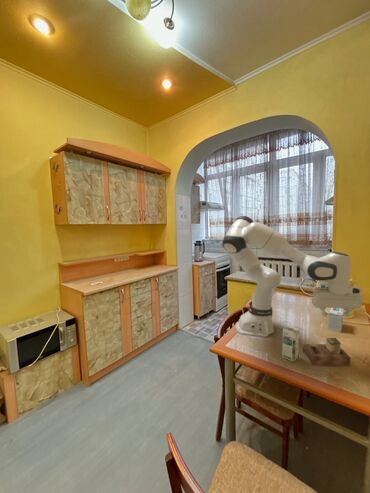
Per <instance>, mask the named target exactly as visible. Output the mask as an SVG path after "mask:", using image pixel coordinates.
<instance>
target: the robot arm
mask: <svg viewBox="0 0 370 493" xmlns="http://www.w3.org/2000/svg"><path fill="white" fill-rule="evenodd" d="M221 244H222V247H223V249H224V250H225V251H227V252H228V253H229V255H230V256H231V258H233V260H234V261H235V262H236V263H237V264H238V265H239V266H240V267H241V269H242V270H243V271H244V272H245V275H246V277H247V278H248V279H249V280H250V281H252V282H254V283H256V289H255V290H254V291H253V292H252V295H251V305H250V304H248V303H247V304H246V307H247V309H248V311H246V312H245V313H243V314H241V315H240V316H239V321H237V322H236V323H235V329H236V332H237V333H238V334H240V335H247V336H256V337H257V336H258V337H264V338H266V337H267V338H268V336H269V335H271V334H273V333H274V332H275V329H274V328H275V327H274V323H273V313H274V311H273V306H272V305H273V303H272V302H273V300H272V299H273V292H274V290H275V289H276V288H278V287H279V285H280V284H281V282H282V277H281V275H280V273H279V272H278V271H276V270H275V269H273V268H271V267H267V266H265V265H264V264H262V263H261V261H260V260H259V256H258V255H257V254H256V252H255V251H254V250H253V249H252V248H251V247H250V245H249V244H251V245H254V246H255V247H257V248H259V249H260V250H261V251H263V252H266V253H267V254H270V255H272V256H282V257H285V258H286V259H287V260H290V261H291V262H293V263H294V264H297V265H298V267H299V269H300V270H301V271H302V272H303V273H304V274H306V275H307V276H308V277H309V278H311V279H312V280H314V281H319V282H320V281H322V282H323V281H325V282H326V284H325V287H324V286H323V287H321V286H320V287H319V286H317V287H315V288H314V289H313V290H312V300H311V304H312V305H313V306H314V307H315V308H319V309H320V311H321V315H322V317H328V315H329V312H327V311H325V310H326V309H328V308H329V309H331V308H342V309H346V310H345V311H344V312H343V317H345V318H350V314H351V313H352V312H353V309H360V308H362V306H363V295H362V292H363V290H362V289H361V288H360V287H358V286H356V285H353V284H351V280H350V277H351V274H352V258H351V257H350V255H348V254H346V253H343V252H338V251H330V253H328V254H325V255H324V256H321V257H319V256H317V255H314V254H309V253H305V252H302V251H301V250H299V249H298V248H296V247H294V246H292V245H291V244H290V243H289V242H288V240H287V238H286V237H285V236H284V235H283V234H281V233H280V232H278V231H277V230H276V229H274V228H272V227H270V226H268V225H266V224H263V223H261V222H258V221H253V219H252V218H250V217H249V216H247V215H240V216H238V217H237V218H236V219H235V220H234V222H233V223H232V224H231V225H230V227H229V228H228V231H227V232H226V234H225V236H224V238H223V240H222V243H221Z"/></svg>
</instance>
